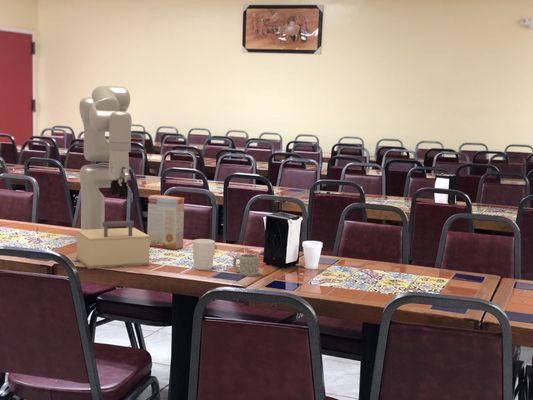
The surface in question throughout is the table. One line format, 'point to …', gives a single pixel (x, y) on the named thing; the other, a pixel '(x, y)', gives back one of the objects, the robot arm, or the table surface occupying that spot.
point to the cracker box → (165, 221)
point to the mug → (247, 264)
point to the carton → (112, 252)
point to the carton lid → (113, 231)
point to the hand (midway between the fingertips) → (118, 195)
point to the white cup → (203, 254)
